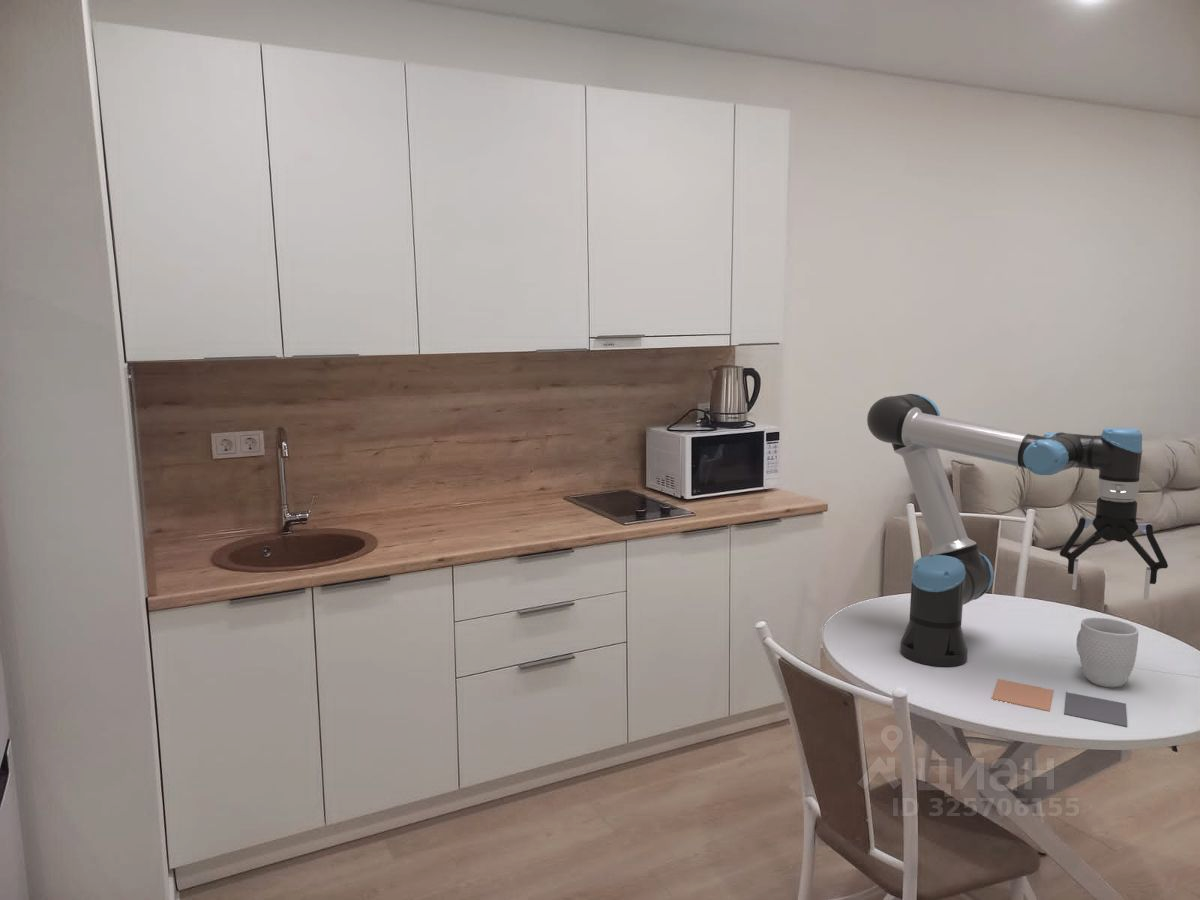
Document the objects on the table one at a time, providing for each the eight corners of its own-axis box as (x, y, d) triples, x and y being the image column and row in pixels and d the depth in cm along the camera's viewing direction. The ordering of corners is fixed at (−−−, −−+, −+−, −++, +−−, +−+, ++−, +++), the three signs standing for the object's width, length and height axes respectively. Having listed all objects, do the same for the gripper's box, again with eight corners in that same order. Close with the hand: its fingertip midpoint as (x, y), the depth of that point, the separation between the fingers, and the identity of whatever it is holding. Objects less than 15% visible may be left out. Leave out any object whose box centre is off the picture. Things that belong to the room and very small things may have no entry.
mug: (1054, 666, 196) (1059, 612, 194) (1098, 664, 197) (1103, 610, 195) (1098, 693, 181) (1103, 635, 180) (1145, 691, 182) (1151, 633, 181)
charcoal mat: (1063, 717, 171) (1063, 713, 171) (1065, 695, 182) (1066, 692, 181) (1126, 730, 166) (1127, 726, 166) (1125, 707, 176) (1125, 703, 176)
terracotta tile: (991, 701, 178) (991, 698, 178) (997, 682, 188) (998, 678, 188) (1049, 714, 173) (1049, 710, 173) (1053, 693, 183) (1053, 689, 183)
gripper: (1051, 496, 186) (1044, 588, 189) (1188, 507, 173) (1178, 606, 176) (1053, 490, 192) (1046, 580, 195) (1185, 501, 179) (1176, 597, 182)
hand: (1109, 593), depth 186 cm, fingers open, 13 cm apart
